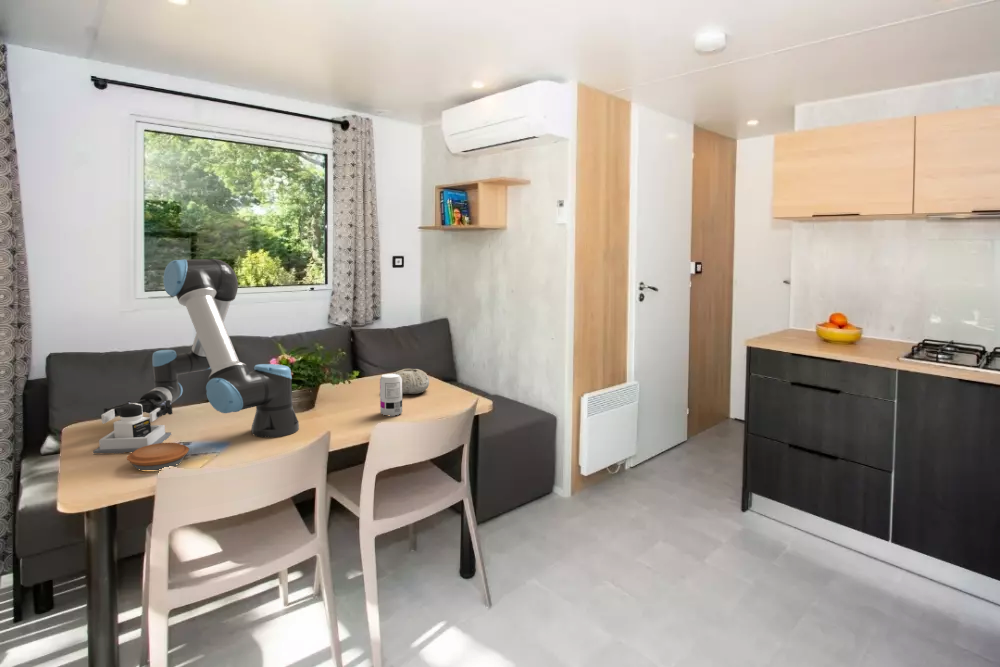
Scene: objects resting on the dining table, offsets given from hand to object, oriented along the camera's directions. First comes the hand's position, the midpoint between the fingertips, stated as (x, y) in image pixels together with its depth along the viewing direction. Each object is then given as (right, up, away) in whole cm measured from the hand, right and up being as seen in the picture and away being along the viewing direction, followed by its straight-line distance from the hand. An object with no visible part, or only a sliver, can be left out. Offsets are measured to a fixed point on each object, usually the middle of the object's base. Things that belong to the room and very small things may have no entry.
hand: (127, 418), depth 178 cm
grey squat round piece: (+76, 0, +74) cm, 106 cm away
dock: (-1, -9, +5) cm, 10 cm away
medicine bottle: (-1, -8, +5) cm, 9 cm away
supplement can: (+74, -5, +42) cm, 85 cm away
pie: (+17, -12, -11) cm, 24 cm away
